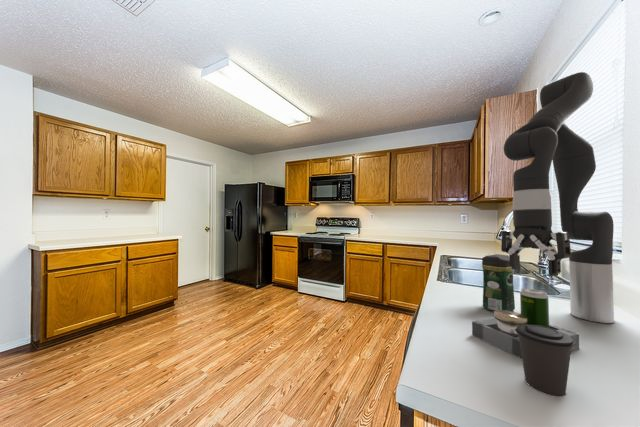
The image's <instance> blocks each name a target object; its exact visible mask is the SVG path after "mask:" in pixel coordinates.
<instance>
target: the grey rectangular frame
mask: <svg viewBox="0 0 640 427" xmlns="http://www.w3.org/2000/svg"><path fill="white" fill-rule="evenodd" d="M471 326H472V327H471V332H472V334H471V335H472V336H473V337H475V338H478V339H480V340H481V341H484V342H485V343H488V344H491V346H494V347H496V348H499V349H500V350H503V351H505V352H506V353H509V354H512V355H513V356H515V357H518V358H519V359H521V360H522V355H521V348H520V341H519V337H516V338H515V337H513V336H510V335H508V334H505V333H503V332H501V331H498V323H497V319H495V318H494V317H493V318H485V319H480V320H479V319H478V320H472V321H471ZM549 328H552V329H555V330H557V331H560V332H562V333H565V334H567V335H569V336H570V337H571V338H572V339H573V340H574V341H575V343H576V344H575V346H572V347H571V352H573V351H574V352H575V351H579V350H580V334H579V333H577V332H574V331H570V330H568V329H565V328H563V327H558V326H556V325H552V324H550V323H549Z"/></svg>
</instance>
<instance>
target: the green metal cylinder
mask: <svg viewBox="0 0 640 427" xmlns="http://www.w3.org/2000/svg"><path fill="white" fill-rule="evenodd" d="M549 303H550V302H549V296H548V293H547V292H546V291H543V290H539V289H533V288H522V289H521V292H520V314H523V315H525V316H526V317H527V324H526V325H540V326H545V327H549V324H550V309H549V307H550V306H549Z"/></svg>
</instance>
